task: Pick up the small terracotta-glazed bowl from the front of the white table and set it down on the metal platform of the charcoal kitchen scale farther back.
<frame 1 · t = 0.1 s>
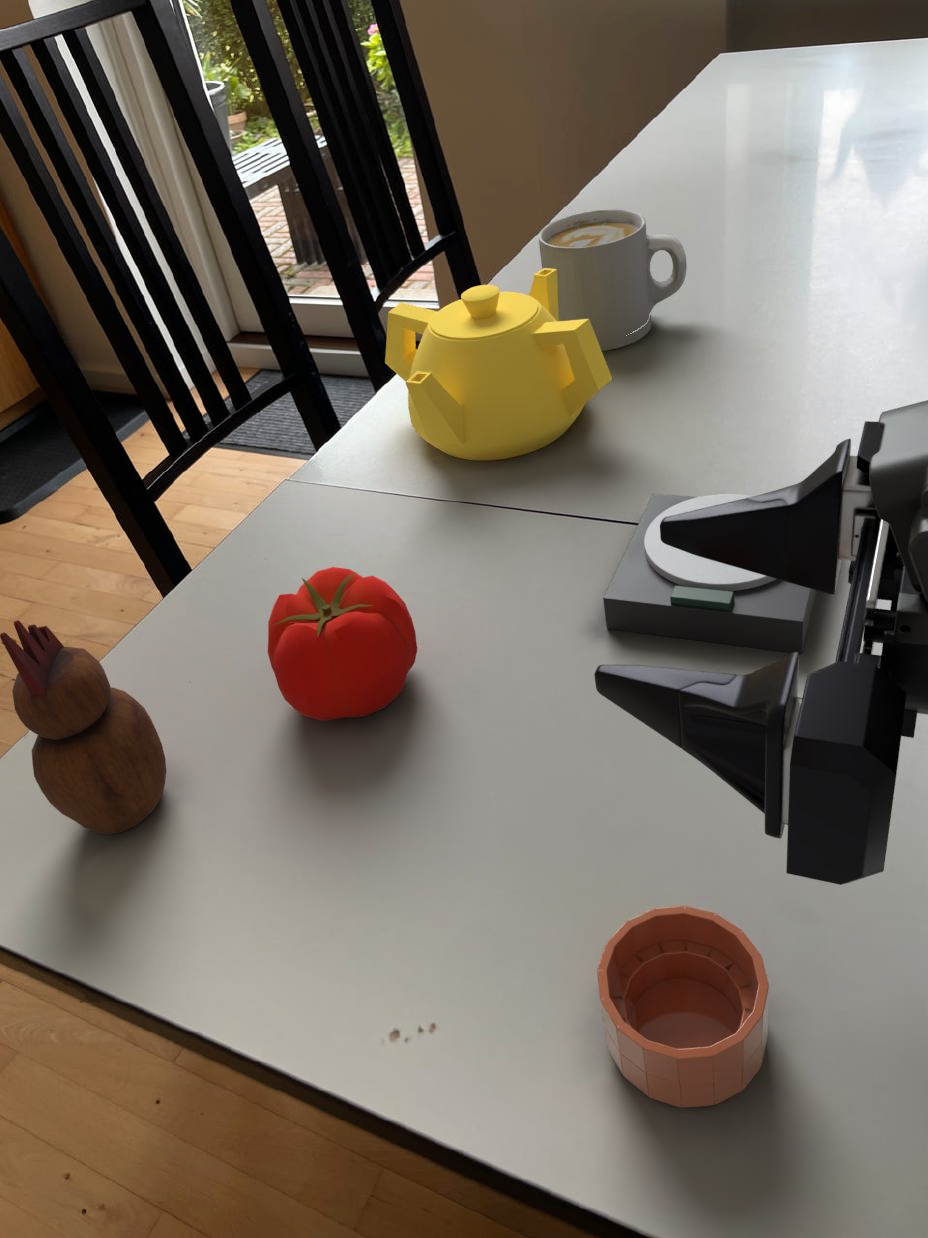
hand: (631, 598, 39), 17 cm above the table, tool horizontal, fingers open, 9 cm apart
tomato: (353, 693, 64), on the table
wooden figurine: (130, 808, 59), on the table
scale: (720, 581, 65), on the table
teapot: (502, 424, 88), on the table
bowl: (685, 1034, 43), on the table
coffee mug: (618, 330, 98), on the table
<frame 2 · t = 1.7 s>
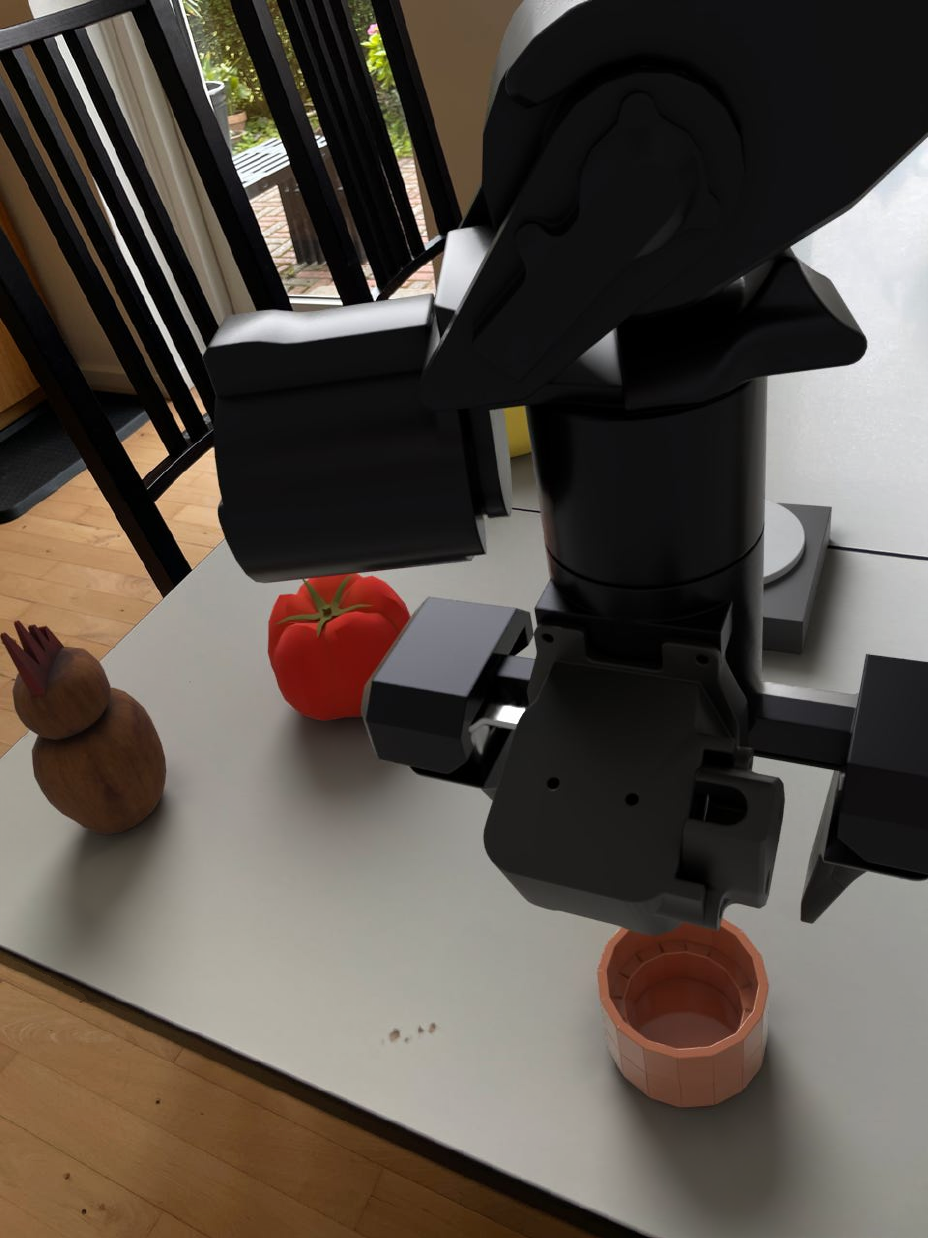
hand: (674, 880, 36), 11 cm above the table, tool pointing down, fingers open, 9 cm apart
nothing on the table moved.
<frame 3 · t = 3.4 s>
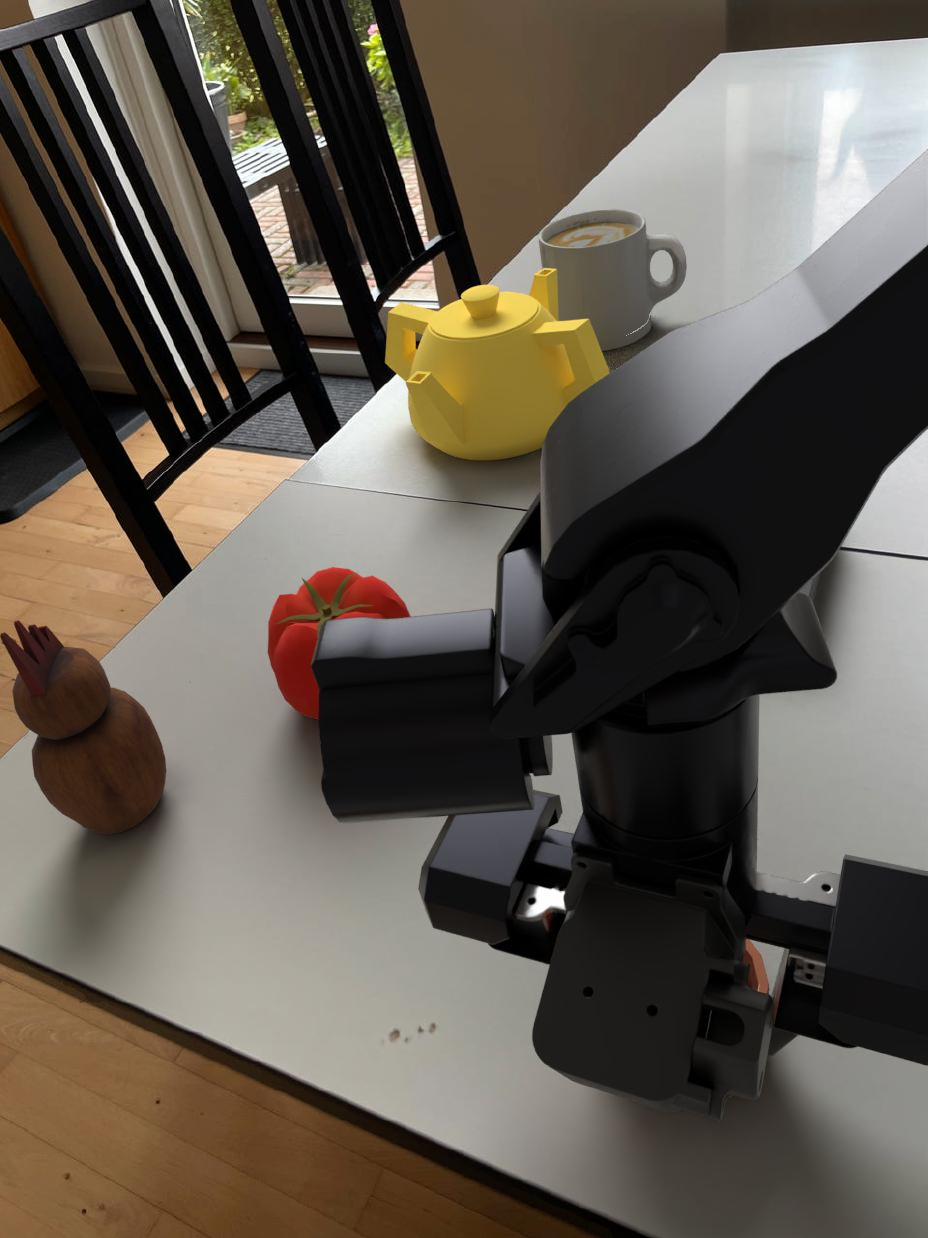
hand: (683, 1019, 42), 1 cm above the table, tool pointing down, fingers closed on bowl, 7 cm apart
bowl: (685, 1034, 43), on the table, touching gripper
everything else where it was.
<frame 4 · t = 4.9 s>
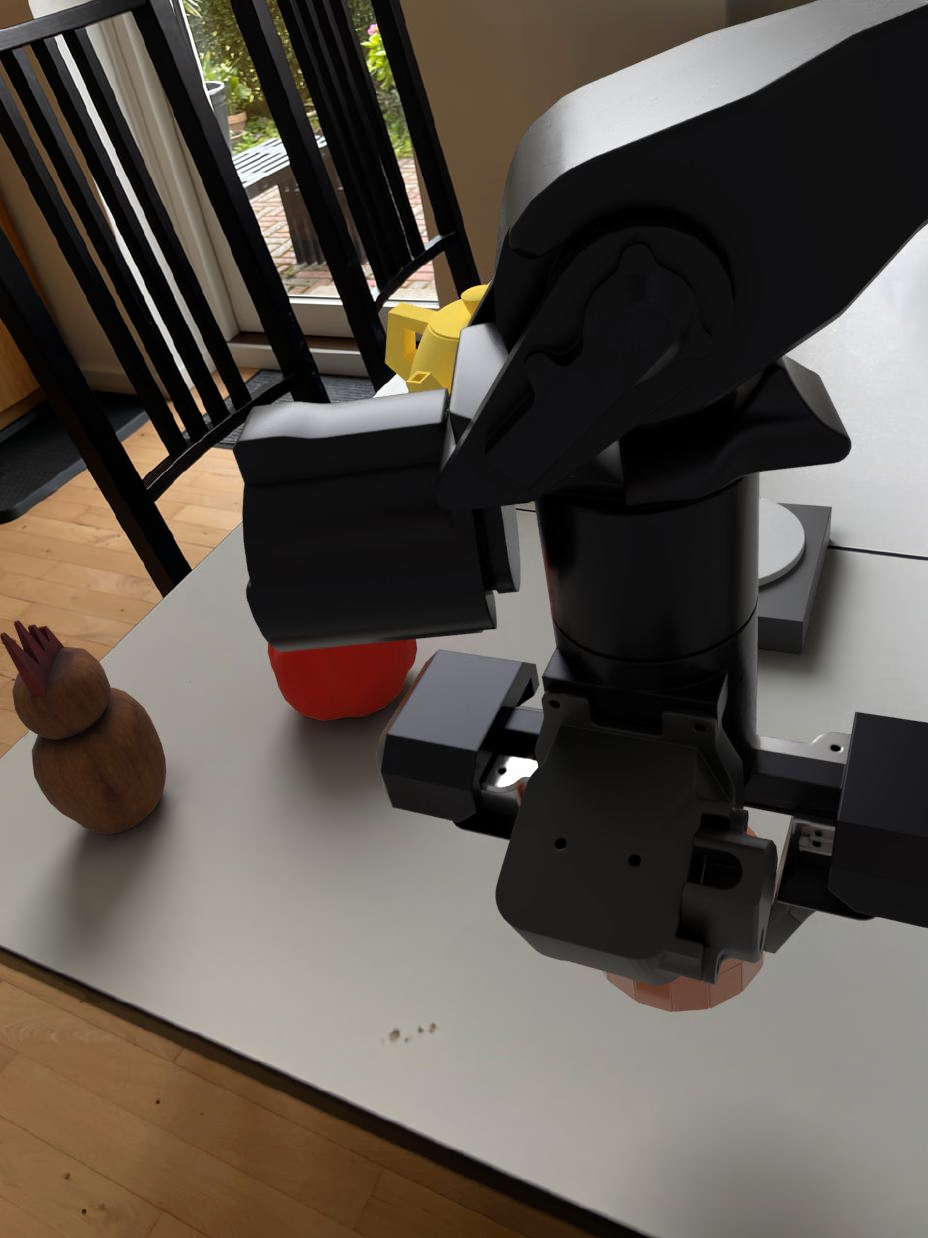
hand: (675, 918, 38), 8 cm above the table, tool pointing down, fingers closed on bowl, 7 cm apart
bowl: (677, 938, 38), point 7 cm above the table, touching gripper
everything else where it was.
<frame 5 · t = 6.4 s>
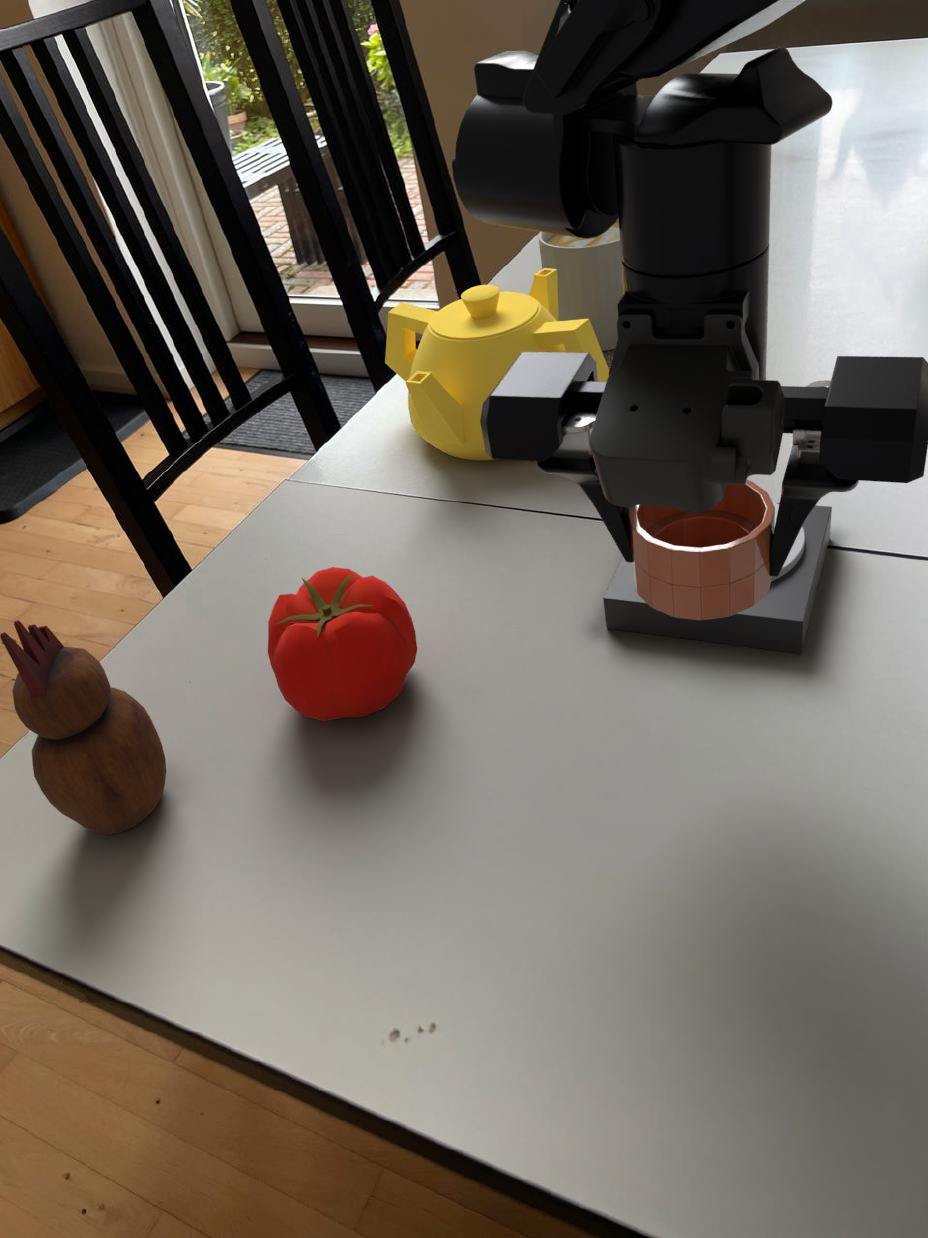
hand: (701, 564, 49), 11 cm above the table, tool pointing down, fingers closed on bowl, 7 cm apart
bowl: (702, 585, 50), point 10 cm above the table, touching gripper
everything else where it was.
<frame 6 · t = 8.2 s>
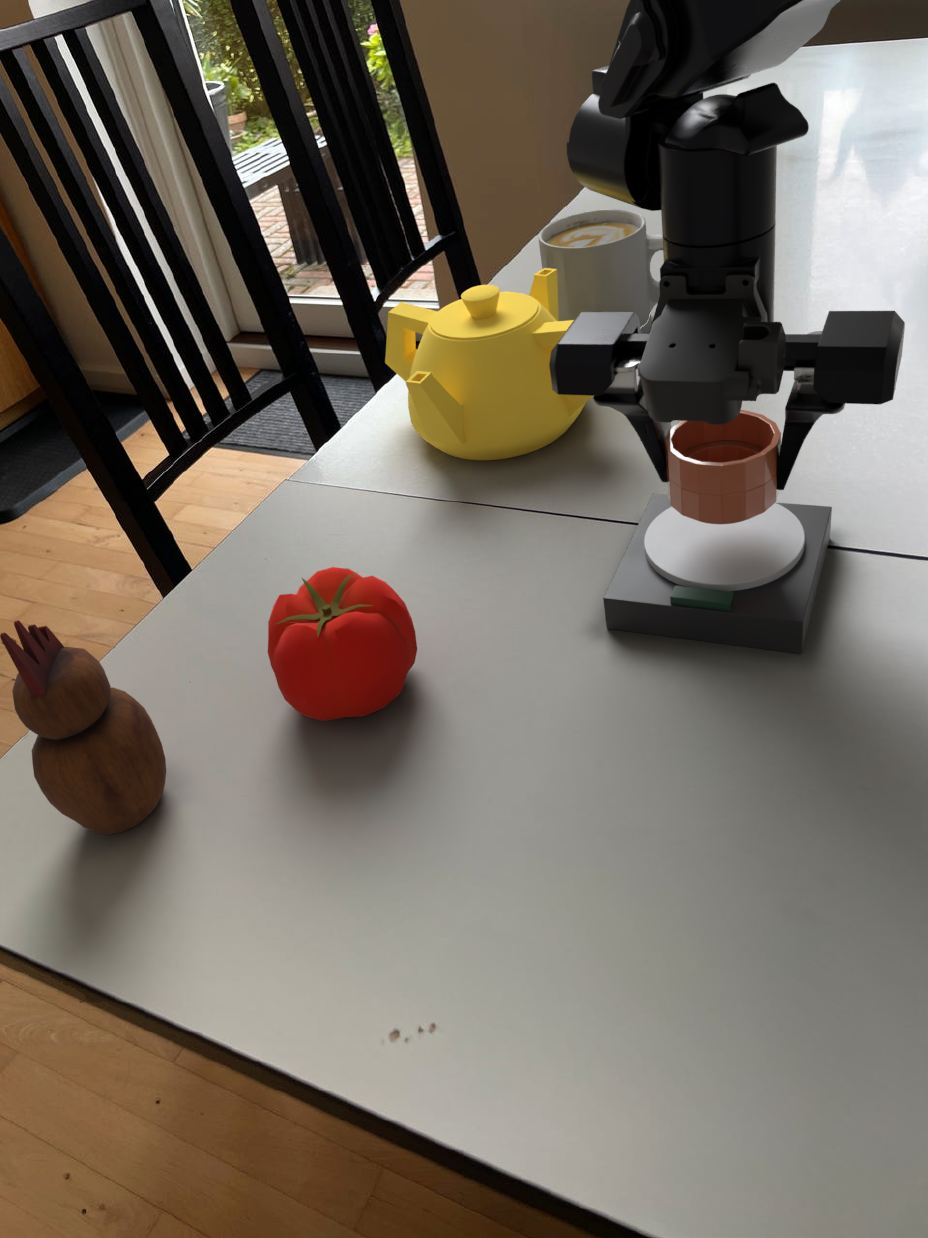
hand: (722, 482, 62), 7 cm above the table, tool pointing down, fingers closed on bowl, 7 cm apart
bowl: (723, 499, 62), point 6 cm above the table, touching gripper
everything else where it was.
when the fingers open (4 cm above the table, at t = 9.6 s): bowl stays where it is, resting on scale.
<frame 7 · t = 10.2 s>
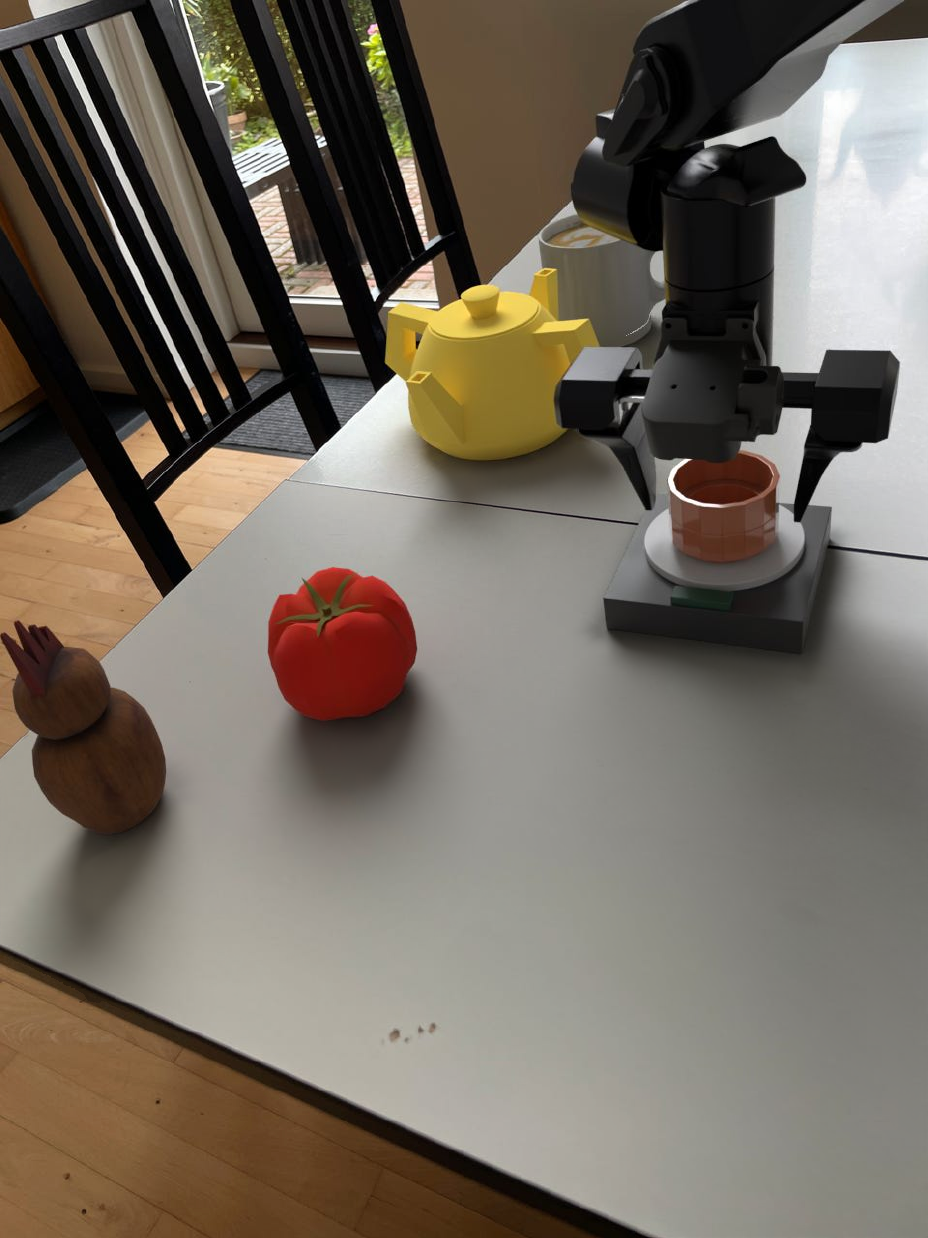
hand: (722, 512, 63), 5 cm above the table, tool pointing down, fingers open, 9 cm apart
bowl: (723, 537, 64), point 3 cm above the table, touching scale
everything else where it was.
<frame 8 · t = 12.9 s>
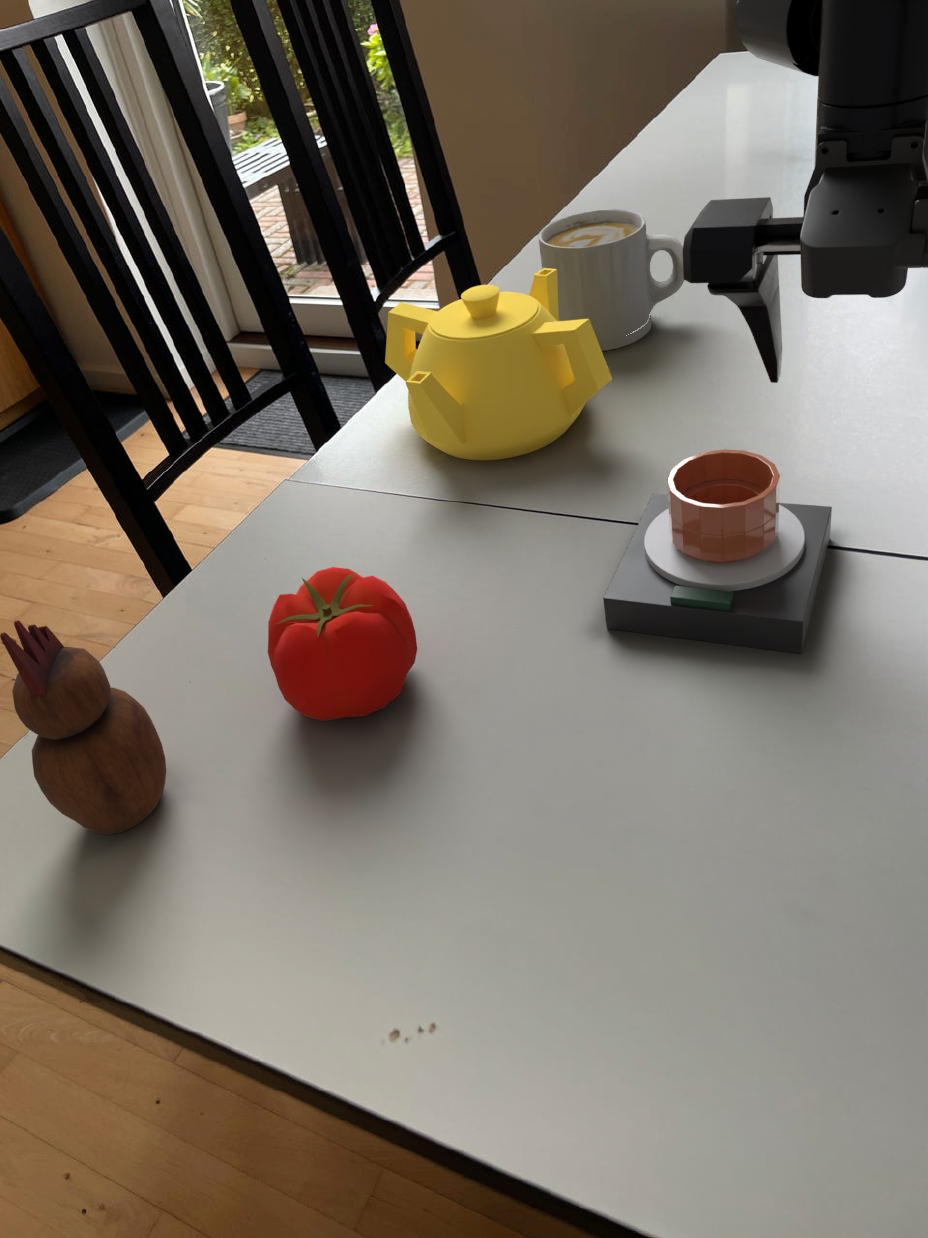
hand: (856, 381, 59), 12 cm above the table, tool pointing down, fingers open, 9 cm apart
nothing on the table moved.
at the end: bowl inside the target area on the scale (0.1 cm from its centre), point 3.1 cm above the scale's base; bowl tilted 0°; the gripper is holding nothing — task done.
